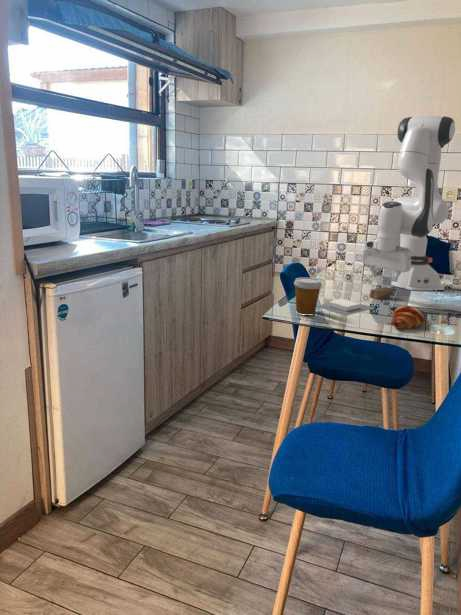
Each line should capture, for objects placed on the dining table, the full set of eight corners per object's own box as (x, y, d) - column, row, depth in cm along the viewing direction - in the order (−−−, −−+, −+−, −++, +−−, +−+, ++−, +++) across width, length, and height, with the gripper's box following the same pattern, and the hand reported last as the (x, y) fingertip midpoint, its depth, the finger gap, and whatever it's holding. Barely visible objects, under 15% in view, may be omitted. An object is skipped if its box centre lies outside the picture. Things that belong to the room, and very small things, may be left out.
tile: (342, 298, 190) (329, 301, 185) (360, 303, 184) (346, 306, 179) (342, 303, 190) (328, 306, 185) (360, 308, 185) (346, 311, 180)
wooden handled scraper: (394, 299, 204) (396, 289, 203) (368, 305, 193) (370, 295, 192) (379, 295, 209) (380, 286, 208) (353, 301, 198) (354, 291, 197)
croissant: (408, 325, 182) (400, 304, 182) (435, 317, 175) (427, 296, 176) (386, 338, 165) (378, 315, 165) (416, 330, 159) (407, 306, 159)
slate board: (344, 301, 196) (345, 299, 196) (375, 310, 186) (376, 308, 186) (314, 308, 185) (314, 306, 185) (345, 317, 175) (345, 315, 175)
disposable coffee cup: (322, 317, 174) (326, 283, 171) (296, 317, 173) (298, 283, 170) (313, 309, 183) (316, 277, 180) (288, 309, 182) (290, 277, 179)
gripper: (416, 247, 192) (412, 282, 196) (370, 240, 207) (367, 273, 211) (407, 249, 188) (403, 285, 193) (361, 241, 203) (358, 275, 207)
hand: (384, 279), depth 202 cm, fingers open, 8 cm apart
